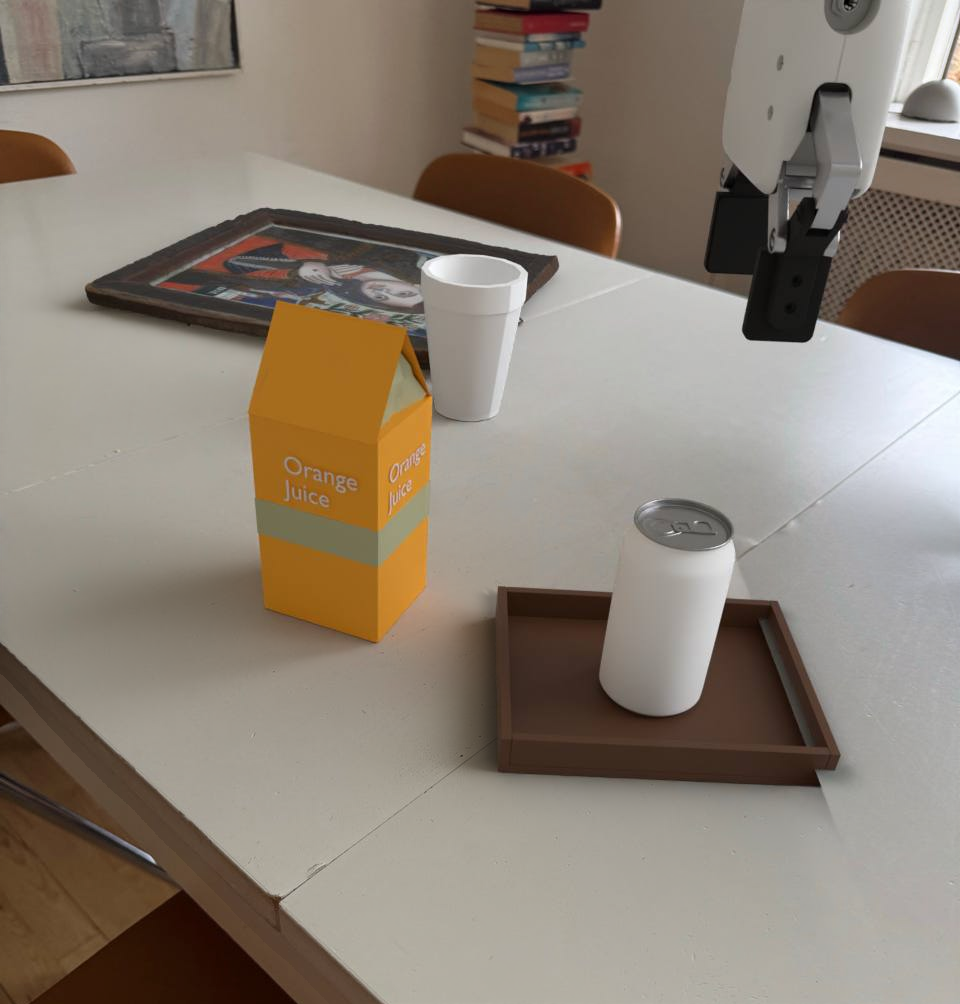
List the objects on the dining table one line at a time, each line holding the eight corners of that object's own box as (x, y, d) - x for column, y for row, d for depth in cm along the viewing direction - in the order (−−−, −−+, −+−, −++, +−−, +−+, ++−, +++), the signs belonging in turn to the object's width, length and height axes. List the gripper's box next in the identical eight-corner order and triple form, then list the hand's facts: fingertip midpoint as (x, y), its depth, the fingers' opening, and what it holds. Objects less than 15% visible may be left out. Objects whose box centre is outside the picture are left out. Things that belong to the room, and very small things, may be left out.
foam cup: (457, 379, 102) (464, 248, 94) (533, 405, 98) (547, 270, 90) (398, 408, 95) (400, 269, 87) (477, 437, 91) (486, 295, 83)
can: (589, 656, 65) (615, 494, 58) (684, 654, 66) (722, 494, 59) (609, 722, 60) (641, 553, 53) (713, 719, 61) (758, 553, 54)
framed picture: (466, 387, 100) (468, 357, 98) (83, 312, 110) (78, 284, 108) (568, 276, 131) (570, 252, 129) (261, 225, 141) (259, 202, 139)
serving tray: (768, 630, 70) (777, 600, 68) (828, 787, 58) (841, 754, 56) (495, 616, 69) (497, 585, 68) (497, 772, 57) (501, 738, 56)
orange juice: (319, 554, 74) (308, 282, 62) (427, 586, 72) (437, 308, 60) (262, 609, 68) (237, 319, 56) (377, 645, 66) (377, 351, 54)
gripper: (1031, -119, 33) (881, 375, 43) (868, -122, 47) (784, 254, 57) (806, -132, 33) (710, 368, 43) (709, -131, 46) (653, 248, 57)
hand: (752, 303), depth 50 cm, fingers open, 9 cm apart
